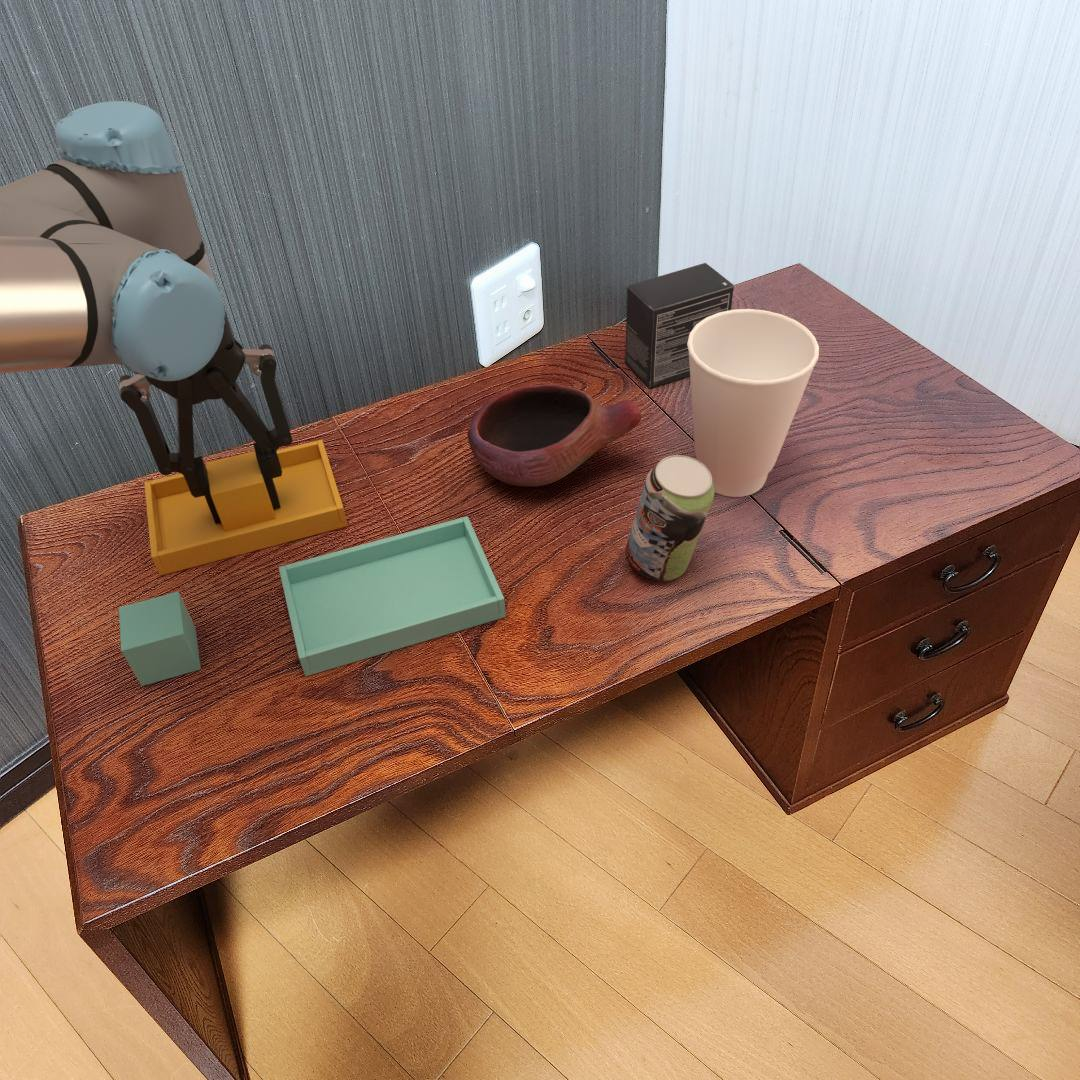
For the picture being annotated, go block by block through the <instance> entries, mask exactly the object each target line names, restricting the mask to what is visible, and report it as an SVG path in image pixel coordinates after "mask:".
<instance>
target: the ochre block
mask: <svg viewBox="0 0 1080 1080" xmlns="http://www.w3.org/2000/svg"><path fill="white" fill-rule="evenodd" d="M205 466H206V469H207V474H208V480H209V486H210V493H211V497H212V499H213V502H214V505H215V507H216V510H217V512H218V515H219V517H220V520H221V523H222V525H223V528H224V530H225V531H229V530H233V529H237V528H241V527H245V526H249V525H253V524H257V523H260V522H264V521H268V520H272V519H275V513H274V509H273V506H272V503H271V500H270V497H269V494H268V491H267V488H266V485H265V482H264V479H263V476H262V474H261V471H260V468H259V465H258V462H257V458H256V454H255V450H253V451H249V452H245V453H240V454H237V455H232V456H227V457H224V458H220V459H215V460H212V461H207V462H205Z"/></svg>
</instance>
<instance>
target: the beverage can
mask: <svg viewBox="0 0 1080 1080" xmlns="http://www.w3.org/2000/svg"><path fill="white" fill-rule="evenodd" d="M714 498H715V492H714V486H713V483H712V476H711V473H710V472H709V470H708V469H707V467H706V466H705V465H703V464H702V463H701V462H699V461H698V460H697V459H696V458H693V457H690V456H687V455H678V454H675V455H670V456H669V455H668V456H666V457H664V458H662V459H661V460H660V461H658V463H657V464H656V465H654V466H653V467H652V468H651V469H650V470H649V471H648V473H647V475H646V477H645V481H644V483H643V487H642V491H641V494H640V497H639V501H638V505H637V508H636V512H635V515H634V517H633V521H632V526H631V529H630V532H629V536H628V539H627V543H626V546H625V556H626V560H627V562H628V564H629V565H630V566H631V568H632V569H633V570H634V571H635V572H636V573H638V574H639V575H640V576H642V577H644V578H647V579H649V580H654V581H660V582H666V581H667V582H668V581H672V580H675V579H678V578H679V577H681V576H682V575H683V574H685V572H687V569H688V568H689V565H690V562H691V560H692V557H693V554H694V552H695V549H696V546H697V543H698V540H699V538H700V536H701V533H702V530H703V528H704V526H705V522H706V519H707V517H708V515H709V512H710V509H711V507H712V504H713V501H714Z"/></svg>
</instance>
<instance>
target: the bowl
mask: <svg viewBox="0 0 1080 1080" xmlns="http://www.w3.org/2000/svg"><path fill="white" fill-rule="evenodd" d="M641 412H642V411H641V408H640V407H639V406H638V404H637V403H636V402H635V401H634V400H631V399H623V400H620V401H618V402H616V403H614V404H608V405H607V404H599V403H598V402H597V401H596V400H594V398H593V397H592V396H591V395H589V394H588V393H587V392H586V391H584V390H580V389H578V388H576V387H573V386H568V385H564V384H558V383H557V384H555V383H545V384H535V385H523V386H518V387H514V388H511V389H508V390H506V391H505V390H504V391H503V392H501V393H499V394H496V395H494V396H492V397H491V398H490V399H488V400H487V401H486V402H485V403H483V405H482V407H481V408H480V409H479V410H478V411H477V412H476V413H475V414H474V415H473V416H472V417H471V421H470V424H469V428H468V430H467V432H466V435H467V440H468V443H469V446H470V447H469V448H470V450H471V452H472V455H473V456H474V458H475V460H476V461H477V462H478V464H479V466H480V467H481V468H482V469H483V470H484V471H485V472H486V473H487V474H489V475H490V476H492V478H495V479H496V480H498V481H500V482H502V483H505V484H508V485H511V486H516V487H542V486H546V485H550V484H553V483H555V482H557V481H560V480H561V479H563V478H565V477H567V476H568V475H569V474H571V473H573V471H575V470H576V469H577V468H579V467H580V466H581V465H583V464H584V463H585V462H586V461H587V460H588V459H590V458H591V457H592V456H593V455H595V454H596V453H597V452H598V451H600V450H602V448H605V446H607V445H609V444H611V443H613V442H615V441H616V440H618V439H620V438H622V437H623V436H625V435H627V434H628V433H630V432H631V431H633V430H634V429H635V428H636V427H637V426H638V425H639V424H640V422H641V421H642V413H641Z"/></svg>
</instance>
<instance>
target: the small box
mask: <svg viewBox="0 0 1080 1080" xmlns="http://www.w3.org/2000/svg"><path fill="white" fill-rule="evenodd" d="M734 290H735V284H734V283H732V282H731V281H729V280H728V279H727V278H726V277H725V276H723V275H722V274H720V272H718V271H717V270H716V269H714V268H713V267H712V266H710V265H709V264H708V263H706V262H703V263H700V264H696V265H693V266H690V267H686V268H683V269H679V270H676V271H673V272H668V273H666V274H662V275H658V276H655V277H652V278H649V279H645V280H641V281H638V282H635V283H631V284H628V285H627V286H626V321H625V323H626V326H625V349H624V350H625V351H624V352H625V354H624V363H625V364H626V366H628V367H629V369H630V370H631V371H632V372H633V373H634V374H635V375H636V376H637V377H638V378H639V379H640V380H641V381H642V382H643V384H644V385H645V386H646V387H647V388H649V389H653V388H656V387H659V386H662V385H665V384H666V385H667V384H668V383H671V382H674V381H677V380H680V379H681V380H682V379H684V378H687V377H690V363H689V350H688V346H687V342H688V338H689V334H690V332H691V331H692V330H693V328H694V327H695V326H696V324H698V323H699V322H701V321H702V320H704V319H705V318H706V317H709V316H711V315H714V314H716V313H719V312H724V311H729V310H732V305H733V297H734Z"/></svg>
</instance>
